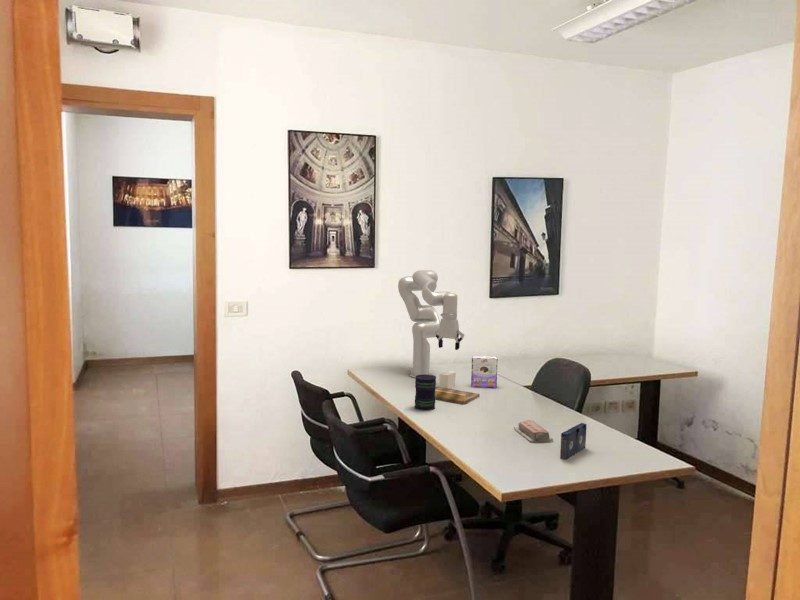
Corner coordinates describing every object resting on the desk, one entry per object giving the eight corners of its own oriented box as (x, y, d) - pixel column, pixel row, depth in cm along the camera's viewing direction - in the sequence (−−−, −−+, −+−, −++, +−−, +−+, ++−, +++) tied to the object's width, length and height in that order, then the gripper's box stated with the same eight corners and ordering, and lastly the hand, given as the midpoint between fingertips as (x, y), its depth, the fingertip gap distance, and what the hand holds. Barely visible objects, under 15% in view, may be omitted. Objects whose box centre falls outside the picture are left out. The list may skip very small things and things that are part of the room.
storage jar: (436, 410, 303) (437, 379, 302) (415, 410, 303) (416, 379, 301) (434, 404, 313) (435, 374, 312) (413, 404, 313) (414, 374, 311)
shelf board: (421, 396, 327) (421, 388, 327) (437, 389, 343) (438, 381, 342) (464, 404, 315) (464, 395, 314) (479, 396, 330) (479, 388, 330)
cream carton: (438, 388, 345) (439, 373, 344) (446, 385, 353) (446, 370, 352) (447, 390, 342) (448, 375, 342) (455, 386, 350) (455, 372, 349)
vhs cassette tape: (579, 446, 259) (581, 422, 258) (586, 448, 257) (588, 424, 256) (558, 458, 245) (559, 432, 244) (565, 460, 243) (567, 434, 242)
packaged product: (554, 431, 263) (531, 432, 261) (553, 442, 264) (530, 444, 261) (535, 418, 281) (514, 419, 278) (535, 429, 281) (513, 430, 279)
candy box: (496, 385, 354) (497, 356, 352) (496, 388, 348) (498, 358, 346) (470, 384, 355) (471, 355, 354) (470, 387, 350) (472, 357, 348)
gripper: (431, 316, 344) (431, 347, 346) (461, 318, 335) (460, 351, 337) (438, 314, 351) (437, 345, 353) (467, 317, 342) (466, 349, 344)
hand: (448, 348), depth 345 cm, fingers open, 9 cm apart
